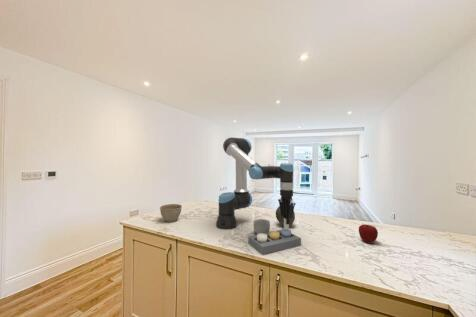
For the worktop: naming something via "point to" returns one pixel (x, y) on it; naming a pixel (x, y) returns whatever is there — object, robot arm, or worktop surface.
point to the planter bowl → (170, 212)
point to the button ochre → (274, 235)
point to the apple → (368, 233)
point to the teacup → (261, 226)
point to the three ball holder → (274, 243)
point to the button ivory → (261, 238)
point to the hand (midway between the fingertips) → (286, 229)
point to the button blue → (286, 233)
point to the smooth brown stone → (280, 218)
